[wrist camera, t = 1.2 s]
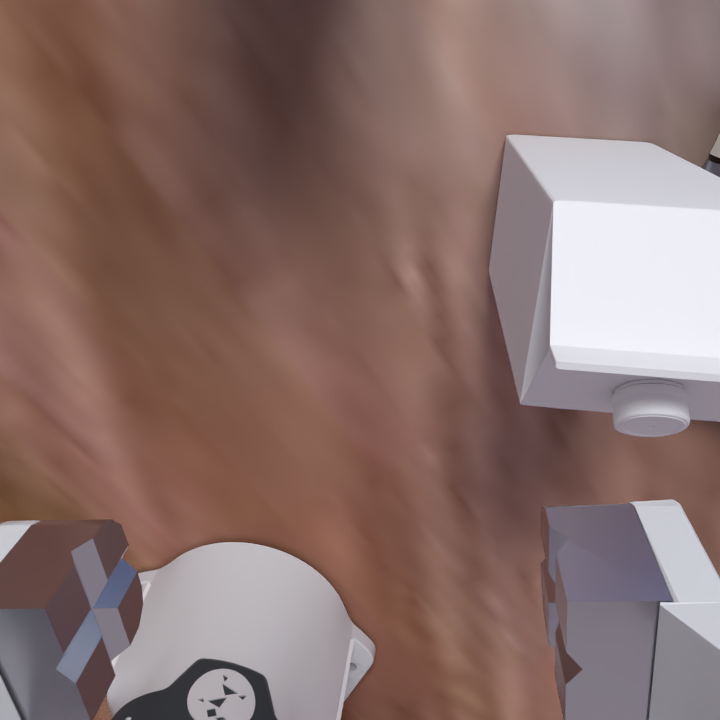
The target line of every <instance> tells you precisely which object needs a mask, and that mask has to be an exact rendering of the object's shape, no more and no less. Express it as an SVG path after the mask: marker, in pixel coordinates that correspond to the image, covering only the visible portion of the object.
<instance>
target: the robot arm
mask: <svg viewBox="0 0 720 720" xmlns="http://www.w3.org/2000/svg"><path fill="white" fill-rule="evenodd" d="M541 537H542V542H543V547H544V552H545V557H546V558H545V559H544V560H543V562H542V563H541V583H542V599H543V611H544V618H545V625H546V631H547V636H548V642H549V644H550V645H551V646H552V647H553V648H554V649H555V679H556V684H557V689H558V694H559V699H560V704H561V709H562V714H563V719H564V720H720V578H719V576H718V574H717V572H716V570H715V568H714V566H713V565H712V563H711V561H710V559H709V557H708V555H707V553H706V551H705V550H704V548H703V546H702V544H701V542H700V540H699V538H698V537H697V535H696V533H695V531H694V529H693V527H692V525H691V523H690V522H689V520H688V518H687V516H686V514H685V512H684V510H683V509H682V507H681V505H680V504H679V503H678V502H676V501H675V500H657V501H640V502H629V504H604V505H575V506H547V507H542V513H541ZM128 545H129V544H128V542H127V539H126V536H125V534H124V531H123V528H122V526H121V524H119V523H117V522H115V521H113V520H42V521H36V520H35V521H7V522H4V523H2V524H0V720H93V719H94V717H95V715H96V713H97V711H98V709H99V707H100V705H101V704H102V702H103V700H104V698H105V696H106V694H107V701H108V705H109V709H110V712H111V715H112V717H113V718H112V720H341V714H342V709H343V703H344V701H345V700H346V698H347V697H348V696H349V694H350V693H351V692H352V690H353V689H354V688H355V687H356V685H357V684H358V683H359V681H360V680H361V679H362V677H363V676H364V675H365V673H366V672H367V671H368V669H369V668H370V667H371V665H372V663H373V660H374V656H375V652H376V648H375V645H374V644H373V642H372V641H371V640H370V639H369V638H368V637H367V636H366V635H365V634H364V633H363V632H362V631H361V630H360V629H359V628H358V627H356V626H355V625H354V624H353V623H352V621H351V620H350V618H349V616H348V614H347V612H346V609H345V607H344V605H343V603H342V601H341V599H340V597H339V595H338V594H337V592H336V591H335V589H334V588H333V587H332V586H331V584H330V583H329V582H328V581H327V580H326V579H325V578H324V577H323V576H322V575H321V574H320V573H318V572H317V571H316V570H315V569H313V568H312V567H311V566H309V565H308V564H306V563H305V562H303V561H301V560H300V559H298V558H296V557H294V556H292V555H290V554H287V553H285V552H282V551H280V550H277V549H274V548H271V547H267V546H263V545H258V544H252V543H242V542H224V543H215V544H209V545H205V546H201V547H198V548H195V549H193V550H190V551H188V552H186V553H184V554H182V555H181V556H179V557H177V558H176V559H175V560H173V561H172V562H170V563H169V564H167V565H166V566H164V567H162V568H160V569H158V570H152V571H147V572H142V573H138V572H137V571H136V570H135V569H134V568H133V567H132V566H130V565H129V564H128V563H127V562H126V561H125V560H123V559H122V557H123V555H124V553H125V551H126V549H127V547H128ZM111 660H112V661H111Z"/></svg>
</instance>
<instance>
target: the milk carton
mask: <svg viewBox="0 0 720 720" xmlns="http://www.w3.org/2000/svg"><path fill="white" fill-rule="evenodd" d="M489 275H490V279H491V283H492V288H493V292H494V296H495V300H496V305H497V309H498V313H499V317H500V322H501V326H502V330H503V334H504V339H505V343H506V347H507V351H508V356H509V360H510V364H511V368H512V372H513V377H514V381H515V385H516V389H517V393H518V397H519V401H520V404H522V405H529V406H539V407H549V408H559V409H572V410H584V411H597V412H609V413H613V426H614V428H615V429H616V430H617V431H619V432H621V433H624V434H627V435H633V436H640V437H660V436H667V435H672V434H675V433H678V432H681V431H683V430H684V429H686V428H687V427H688V426H689V423H690V420H705V421H717V422H720V177H718V176H716V175H714V174H712V173H710V172H708V171H706V170H704V169H702V168H700V167H698V166H696V165H694V164H692V163H690V162H688V161H686V160H684V159H682V158H680V157H678V156H676V155H674V154H672V153H670V152H668V151H666V150H664V149H662V148H660V147H658V146H656V145H654V144H652V143H646V142H633V141H616V140H599V139H581V138H564V137H547V136H530V135H507V136H506V141H505V149H504V156H503V164H502V172H501V179H500V187H499V195H498V202H497V210H496V217H495V225H494V233H493V240H492V248H491V256H490V263H489Z"/></svg>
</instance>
